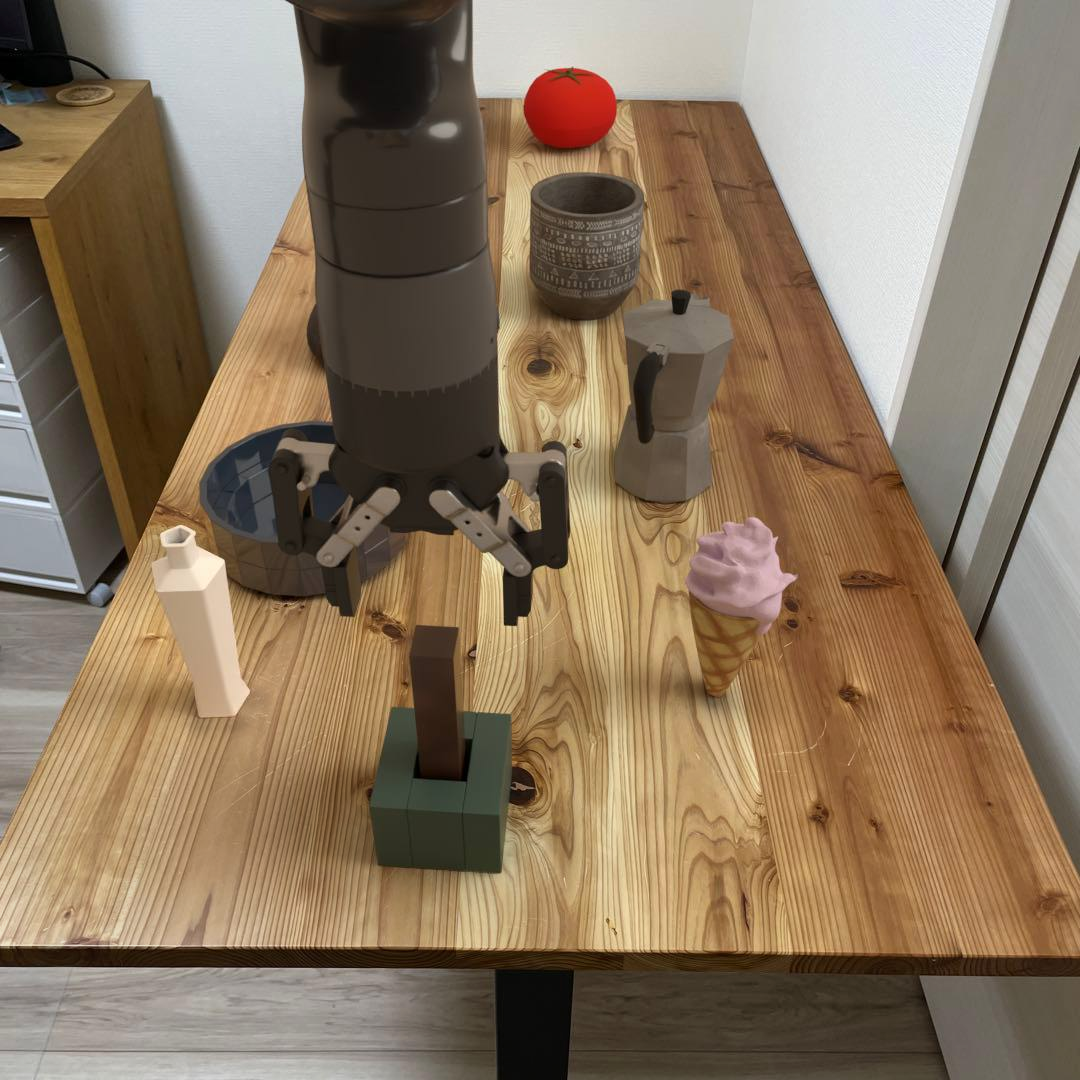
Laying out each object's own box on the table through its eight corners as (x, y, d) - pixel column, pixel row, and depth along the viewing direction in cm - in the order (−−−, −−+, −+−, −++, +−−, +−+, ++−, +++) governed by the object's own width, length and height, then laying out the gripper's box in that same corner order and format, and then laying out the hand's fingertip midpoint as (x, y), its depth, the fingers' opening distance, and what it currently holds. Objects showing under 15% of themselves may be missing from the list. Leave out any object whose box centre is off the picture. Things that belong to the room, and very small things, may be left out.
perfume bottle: (206, 735, 73) (158, 572, 63) (178, 697, 76) (127, 534, 66) (266, 703, 75) (229, 540, 66) (237, 667, 78) (197, 505, 68)
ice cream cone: (779, 682, 77) (816, 522, 68) (746, 740, 73) (781, 578, 63) (695, 648, 80) (719, 488, 70) (658, 702, 76) (679, 540, 66)
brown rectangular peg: (426, 832, 67) (408, 656, 57) (431, 800, 69) (415, 624, 59) (464, 834, 67) (453, 658, 57) (468, 803, 69) (459, 626, 59)
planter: (515, 319, 118) (514, 207, 110) (547, 271, 127) (548, 165, 119) (622, 336, 115) (629, 223, 107) (647, 286, 124) (656, 179, 116)
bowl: (186, 595, 84) (170, 536, 80) (244, 472, 96) (232, 416, 92) (391, 607, 83) (385, 548, 79) (423, 481, 95) (419, 425, 91)
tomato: (576, 121, 167) (578, 50, 160) (632, 145, 159) (637, 71, 153) (504, 141, 160) (503, 68, 153) (559, 167, 152) (561, 91, 146)
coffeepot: (637, 424, 103) (652, 247, 91) (732, 448, 100) (760, 269, 88) (576, 515, 92) (584, 328, 80) (681, 545, 89) (705, 355, 77)
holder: (377, 865, 65) (368, 806, 62) (398, 766, 71) (391, 706, 67) (501, 874, 65) (499, 815, 61) (512, 773, 71) (511, 713, 67)
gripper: (221, 377, 43) (280, 655, 54) (571, 392, 43) (563, 670, 53) (269, 291, 49) (315, 557, 60) (579, 303, 48) (570, 570, 59)
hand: (432, 610), depth 56 cm, fingers open, 8 cm apart
